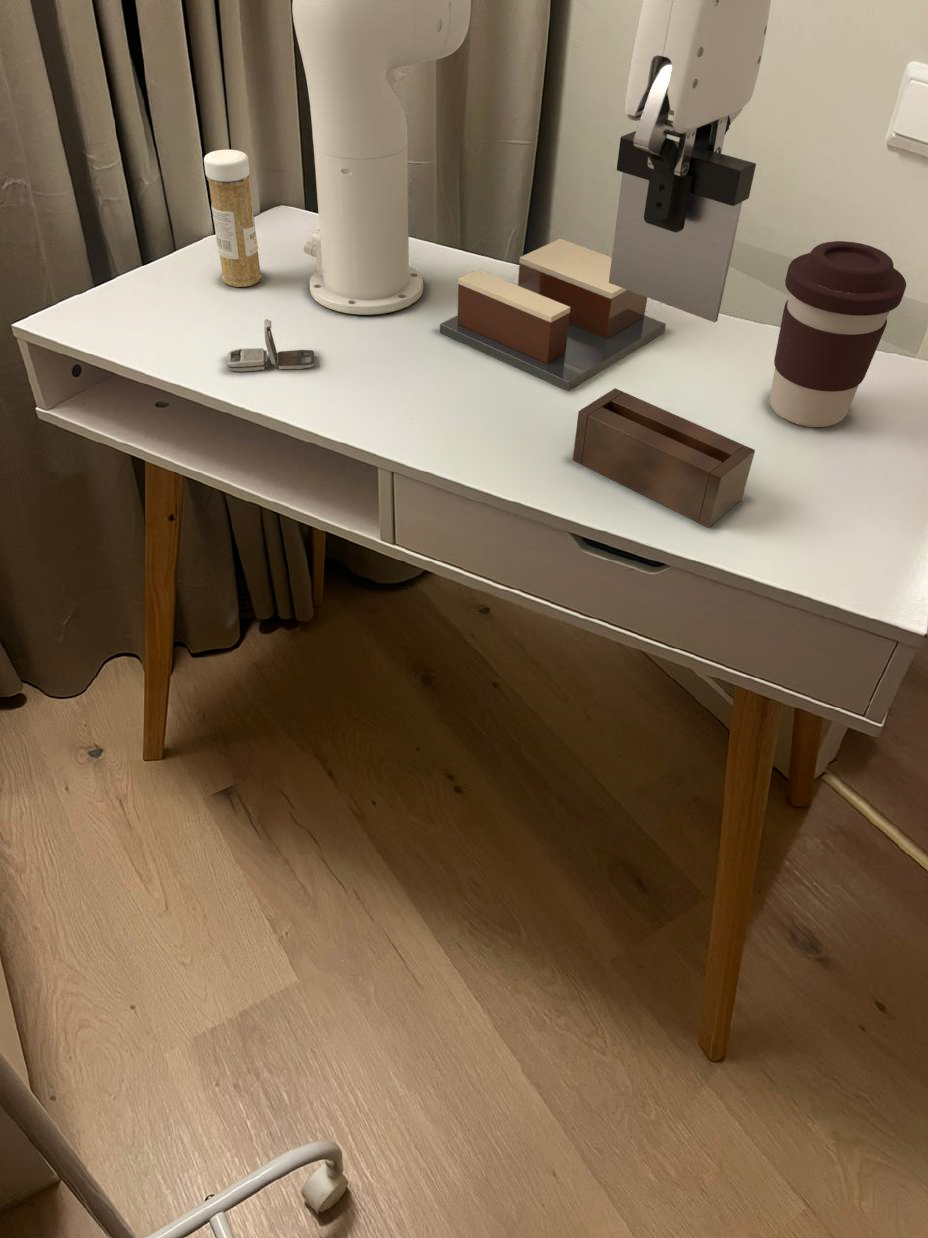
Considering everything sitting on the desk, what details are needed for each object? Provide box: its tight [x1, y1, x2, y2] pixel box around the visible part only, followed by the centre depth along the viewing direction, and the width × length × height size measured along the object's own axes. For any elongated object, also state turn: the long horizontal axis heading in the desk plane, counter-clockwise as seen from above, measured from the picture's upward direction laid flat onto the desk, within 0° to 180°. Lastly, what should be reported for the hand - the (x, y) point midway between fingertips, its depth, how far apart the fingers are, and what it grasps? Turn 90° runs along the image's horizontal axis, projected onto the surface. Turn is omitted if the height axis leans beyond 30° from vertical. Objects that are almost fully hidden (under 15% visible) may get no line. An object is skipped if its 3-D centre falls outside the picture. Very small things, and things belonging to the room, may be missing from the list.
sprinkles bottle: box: [203, 149, 263, 288], centre depth 108 cm, size 5×5×13 cm
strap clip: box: [226, 319, 316, 373], centre depth 97 cm, size 8×3×4 cm, turn 98°
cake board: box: [439, 238, 667, 392], centre depth 103 cm, size 17×17×6 cm
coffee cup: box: [769, 240, 907, 428], centre depth 90 cm, size 10×10×15 cm
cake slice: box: [457, 269, 570, 364], centre depth 100 cm, size 12×3×5 cm, turn 48°
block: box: [572, 387, 756, 528], centre depth 84 cm, size 14×5×5 cm, turn 48°
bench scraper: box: [609, 130, 757, 323], centre depth 74 cm, size 10×2×11 cm, turn 48°
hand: (674, 218), depth 74 cm, fingers closed on bench scraper, 2 cm apart
